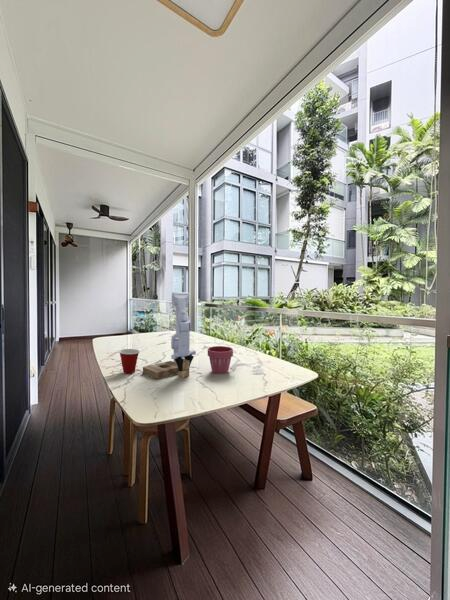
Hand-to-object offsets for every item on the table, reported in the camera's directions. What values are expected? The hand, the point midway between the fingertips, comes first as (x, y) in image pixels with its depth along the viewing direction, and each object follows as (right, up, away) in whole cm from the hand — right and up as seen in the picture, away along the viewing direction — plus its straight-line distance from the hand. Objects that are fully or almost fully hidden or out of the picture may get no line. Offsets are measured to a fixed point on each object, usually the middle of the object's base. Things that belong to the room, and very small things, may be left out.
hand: (183, 370), depth 138 cm
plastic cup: (-31, -3, +6) cm, 31 cm away
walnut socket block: (-11, -3, +5) cm, 13 cm away
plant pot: (+19, -3, +8) cm, 21 cm away
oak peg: (0, -3, 0) cm, 3 cm away
